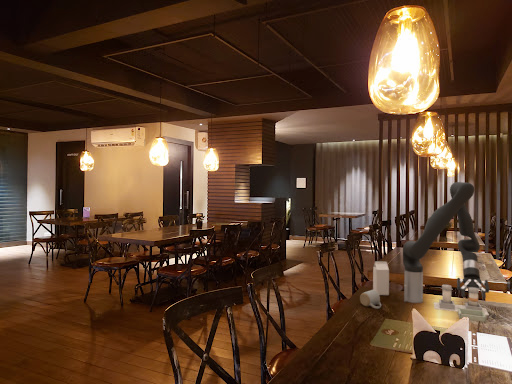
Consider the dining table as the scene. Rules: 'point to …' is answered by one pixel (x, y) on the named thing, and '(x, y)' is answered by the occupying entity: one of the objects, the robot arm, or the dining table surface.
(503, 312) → the dining table surface
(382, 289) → the milk carton
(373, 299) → the ceramic mug
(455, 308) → the fuse board
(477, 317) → the parts tray
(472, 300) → the ball
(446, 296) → the fuse
